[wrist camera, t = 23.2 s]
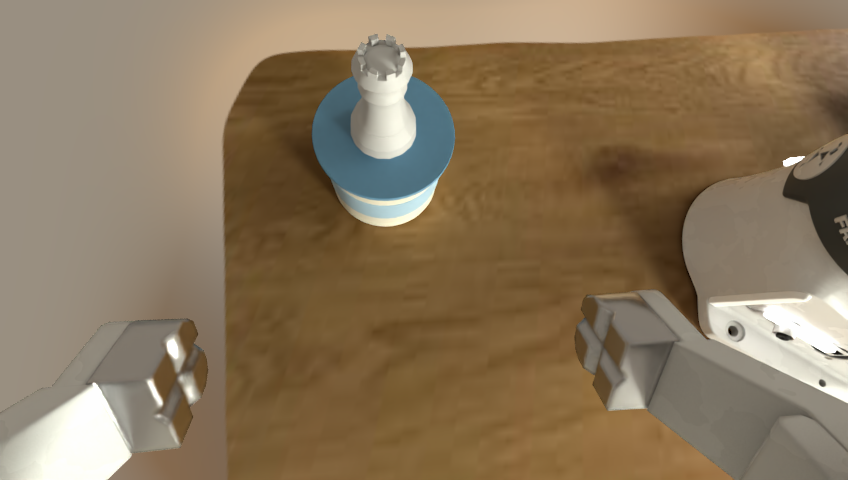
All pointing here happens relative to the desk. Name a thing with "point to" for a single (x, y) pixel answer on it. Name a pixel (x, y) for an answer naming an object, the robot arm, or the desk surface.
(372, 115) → the rook chess piece
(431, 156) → the yogurt tub
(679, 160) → the desk surface
